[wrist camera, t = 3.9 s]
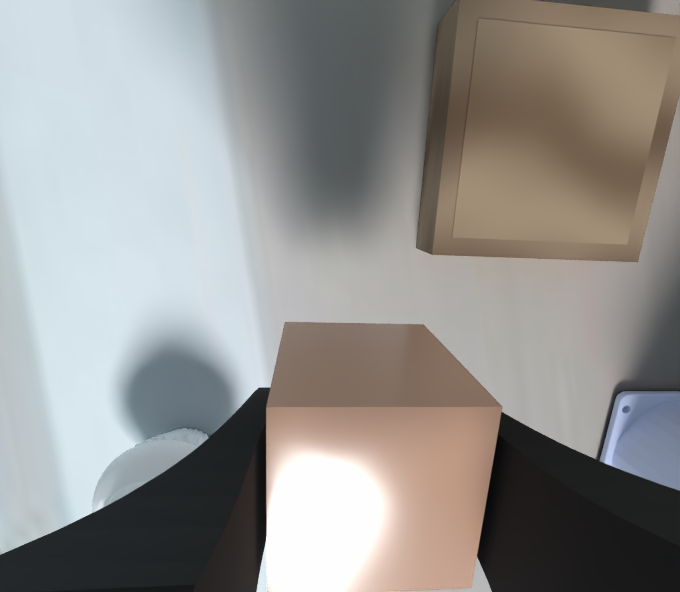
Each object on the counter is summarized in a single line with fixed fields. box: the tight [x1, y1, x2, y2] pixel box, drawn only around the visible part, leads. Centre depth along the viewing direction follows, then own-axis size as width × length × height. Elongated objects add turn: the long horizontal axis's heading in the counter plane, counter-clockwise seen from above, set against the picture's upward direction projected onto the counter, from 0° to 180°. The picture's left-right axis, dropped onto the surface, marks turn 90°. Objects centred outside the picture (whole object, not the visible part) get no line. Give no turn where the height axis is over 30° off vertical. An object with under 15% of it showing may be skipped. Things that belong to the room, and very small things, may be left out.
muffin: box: [92, 428, 209, 513], centre depth 17 cm, size 6×6×7 cm
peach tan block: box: [266, 322, 502, 592], centre depth 10 cm, size 4×4×5 cm
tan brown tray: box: [416, 0, 680, 262], centre depth 17 cm, size 10×10×3 cm
